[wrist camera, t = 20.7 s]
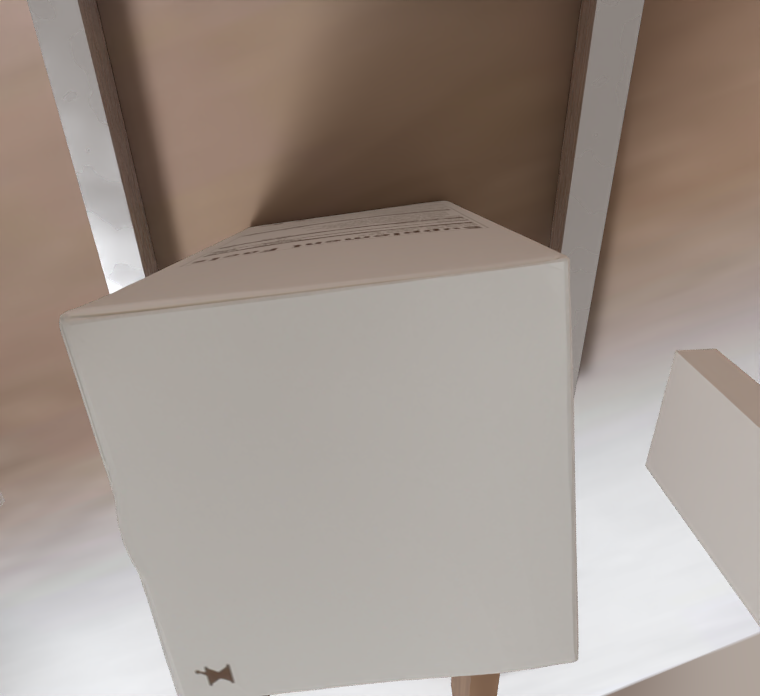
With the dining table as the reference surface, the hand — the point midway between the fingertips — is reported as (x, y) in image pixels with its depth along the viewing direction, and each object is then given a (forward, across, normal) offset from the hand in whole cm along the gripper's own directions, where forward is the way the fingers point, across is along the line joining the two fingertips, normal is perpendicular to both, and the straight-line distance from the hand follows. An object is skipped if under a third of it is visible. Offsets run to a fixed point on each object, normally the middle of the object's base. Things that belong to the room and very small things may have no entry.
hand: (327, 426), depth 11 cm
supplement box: (+14, +1, -4) cm, 15 cm away
